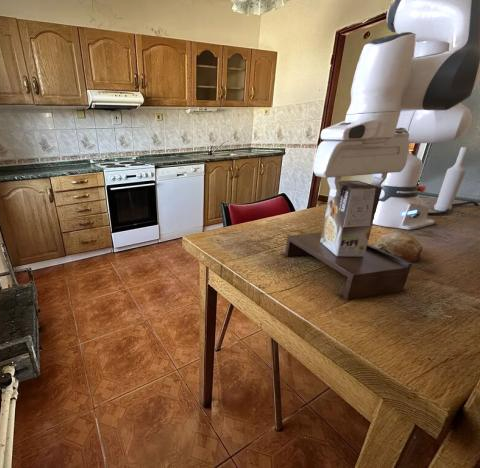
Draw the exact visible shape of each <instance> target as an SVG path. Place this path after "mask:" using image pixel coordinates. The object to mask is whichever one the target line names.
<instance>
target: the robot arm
mask: <svg viewBox="0 0 480 468" xmlns="http://www.w3.org/2000/svg"><path fill="white" fill-rule="evenodd" d="M386 24H387V29H388V30H389V31H390V32H391V33H395V34H390V35H386V36H382V37H378V38H374V39H372V40H370V41H369V42H367V43H365V44H364V46H363V49H362V50H361V53H360V55H359V59H358V61H357V64H356V67H355V68H356V69H355V72H354V76H353V80H352V84H351V89H350V105H349V106H348V109H347V111H346V114H345V118H344V120H343V121H340V122H338V123H335V124H333V125H330V126H328V127H325V128H323V129H322V130H321V132H320V140H322V141H321V142H320V143H319V144H318V146H317V150H316V152H315V157H314V162H313V168H312V171H313V173H314V175H315V176H316V177H320V178H324V179H326V180H327V181H326V182H327V183H328V187H329V193H330V196H332V197H340V196H341V193H342V190H343V189H340V188H339V185H338V182H340V181H342V177H352V176H353V177H354V176H367V175H372V177H373V179H372V181H371V182H370V184H371V185H375V186H378V187H381V188H382V190H381V194H380V198H379V202H378V206H377V209H376V213H375V217H374V221H373V225H376V226H380V227H385V228H394V229H403V230H407V231H411V230H417V229H419V228H420V229H421V228H423V227H427V226H431V225H434V224H435V222H436V221H435V220H434V219H432V218H429V217H428V216H437V215H446V214H448V213H449V212H450V211H451V210H450V209H446V211H438V212H437V211H436V212H435V211H434V212H429V210H430V209H429V205H427V204H426V203H425V202H424V201H423V200H422V199H421V197H419V192H420V193H424V192H425V191H426V186H425V185H418V183H419V179H420V176H421V172H422V170H423V167H424V164H423V161H422V159H421V158H419V157H418V156H416V155H414V154H412V153H410V151H409V150H410V144H441V143H446V142H452V141H455V140H456V141H457V140H458V139H459V138H461V137H462V136H463V135H465V133H467V131H468V130H469V129H470V127H471V125H472V122H473V114H472V112H471V109H470V108H468V107H467V106H465V105H464V104H463V102H464V101H466V100H467V99H468V98H470V97H471V96H472V94H473V93H474V92H475V90H476V88H477V87H478V85H479V82H480V0H391V2H390V4H389V7H388V9H387V12H386ZM330 188H331V189H330ZM465 205H474V206H477V207H478V206H480V205H479V203H478V202H477V201H475V200H474V201H471V200H470V201H464V202H459V203H453V204H452V207H459V206H465ZM449 210H450V211H449Z"/></svg>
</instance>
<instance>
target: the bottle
mask: <svg viewBox="0 0 480 468" xmlns="http://www.w3.org/2000/svg"><path fill="white" fill-rule="evenodd" d="M469 149H470V147H469V146H461V147H460V150H459V152H458V155H457V158H456V161H455V163H454V164H453V166H451V167H449V168H447V169H446V172H445V176H444V179H443V181H442V185H441V188H440V190H439V194H438V197H437V199H436V200H437V201H436V202H435V204H434V205H433V210H435V211H438V212H444V211H446V209H450V210H449V212H450V211H451V210H452V209H453V206H452V204H454V201H455V199H456V196H457V194H458V192H459V189H460V186H461V184H462V181H463V179H464V177H465V175H466V173H467V169H466V168H465V167H464V161H465V158H466V156H467V153H468V152H469Z"/></svg>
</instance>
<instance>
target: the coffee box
mask: <svg viewBox="0 0 480 468" xmlns="http://www.w3.org/2000/svg"><path fill="white" fill-rule="evenodd" d="M338 185H339V188H340V189H343V190H342V193H341V196H340V197H332V196H330V192H329V194H328V198H327V202H326V203H327V204H326V209H325V215H324V220H323V225H322V230H321V232H322V235H321V240H320V242H321V243H322V244H323V245H324V246H325V247H327V248H328V249H329V250H330V251H331V252H332V253H334V254H335V255H336V256H347V257H363V256H364V255H365V251H366V247H367V244H368V243H369V239H370V235H371V231H372V228H373V226H374V224H373V221H374V217H375V213H376V209H377V206H378V202H379V198H380V194H381V190H382V188H381V187H378V186H375V185H371V183H368V182H364V181H360V180H340V182H338ZM330 189H331V188H330V187H329V190H330Z"/></svg>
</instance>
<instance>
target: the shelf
mask: <svg viewBox="0 0 480 468" xmlns="http://www.w3.org/2000/svg"><path fill="white" fill-rule="evenodd" d="M321 235H322V231H319V232H312V233H302V234H294V235H292V234H291V235H287V236H286V237H287V238H286V244H285V252H284V256H286V257H289V258H290V257H297V256H303V255H311V256H312V257H314V258H316V259H317V260H319V261H321V263H324V264H326V265H327V266H329V267H331V268H332V269H334V270H335V271H337V272H338V273H340V274H342V275H343V276H345V277H347V278H346V281H345V286H344V290H343V293H342V298H343V299H346V300H354V299H361V298H365V297H373V296H380V295H387V294H392V293H397V292H398V293H399V292H403V291H404V289H405V286H406V282H407V279H408V277H409V274H410V271H411V269H412V265H413V263H412V262H407V261H405V260H403V259H401V258H398V257H396V256H394V255H391V254H389V253H387V252H385V251H382V250H380V249H378V248H375V246H373V245H370V244H368V243H367V247H366V251H365V255H364V256H363V257H347V256H336V255H335V254H334V253H332V252H331V251H330V250H329V249H328V248H327V247H325V246H324V245H323V244H322V243H321V242H320V240H321Z"/></svg>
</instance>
